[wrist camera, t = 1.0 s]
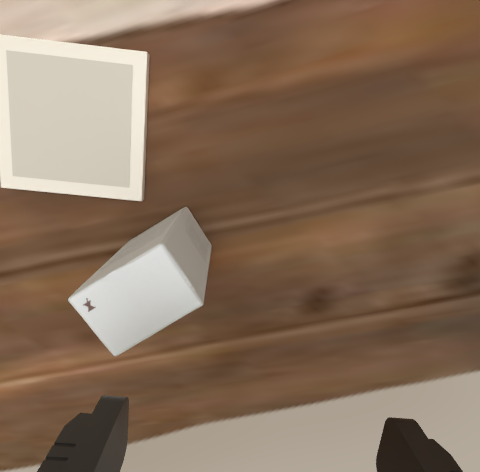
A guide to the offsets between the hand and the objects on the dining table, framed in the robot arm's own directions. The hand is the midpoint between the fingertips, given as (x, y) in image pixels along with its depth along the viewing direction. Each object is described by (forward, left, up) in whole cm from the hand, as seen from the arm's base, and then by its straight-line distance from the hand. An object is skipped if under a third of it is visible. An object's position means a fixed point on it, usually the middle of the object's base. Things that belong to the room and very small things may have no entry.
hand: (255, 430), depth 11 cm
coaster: (+14, -9, -20) cm, 26 cm away
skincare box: (+6, 0, -20) cm, 21 cm away
